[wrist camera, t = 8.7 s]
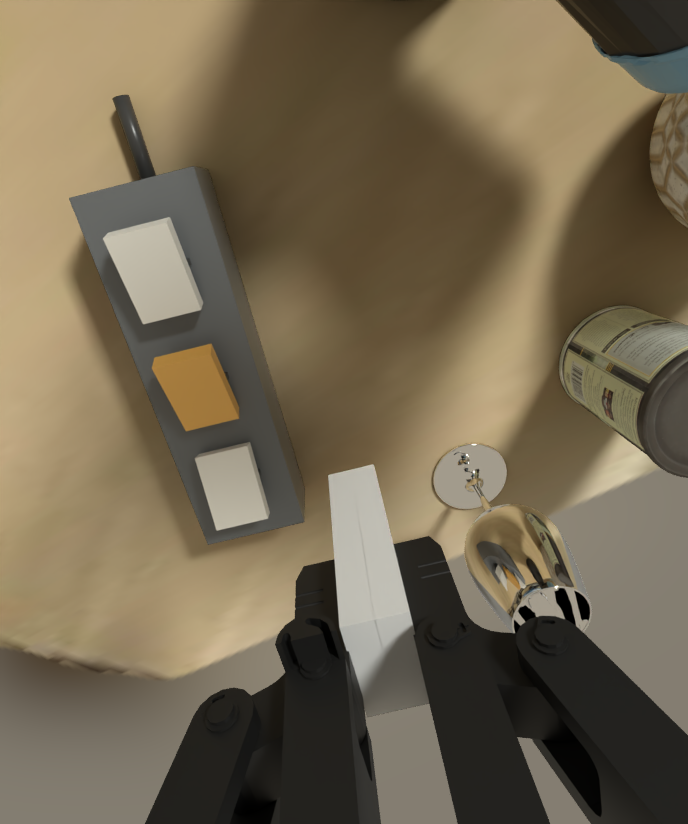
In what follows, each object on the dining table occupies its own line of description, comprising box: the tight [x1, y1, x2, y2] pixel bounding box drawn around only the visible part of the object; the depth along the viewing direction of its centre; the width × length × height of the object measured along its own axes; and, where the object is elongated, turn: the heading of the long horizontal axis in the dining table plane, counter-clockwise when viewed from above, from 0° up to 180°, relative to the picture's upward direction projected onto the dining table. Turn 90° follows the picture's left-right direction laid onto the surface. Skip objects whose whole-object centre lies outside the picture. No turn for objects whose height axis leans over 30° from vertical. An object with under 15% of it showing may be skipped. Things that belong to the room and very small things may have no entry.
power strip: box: [69, 95, 305, 545], centre depth 44 cm, size 36×9×7 cm, turn 13°
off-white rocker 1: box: [103, 217, 203, 324], centre depth 38 cm, size 6×4×1 cm
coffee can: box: [559, 305, 688, 478], centre depth 44 cm, size 10×10×14 cm
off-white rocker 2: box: [195, 442, 270, 531], centre depth 45 cm, size 6×4×1 cm
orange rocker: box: [152, 344, 239, 431], centre depth 42 cm, size 6×4×1 cm
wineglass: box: [433, 443, 592, 633], centre depth 46 cm, size 8×8×20 cm
